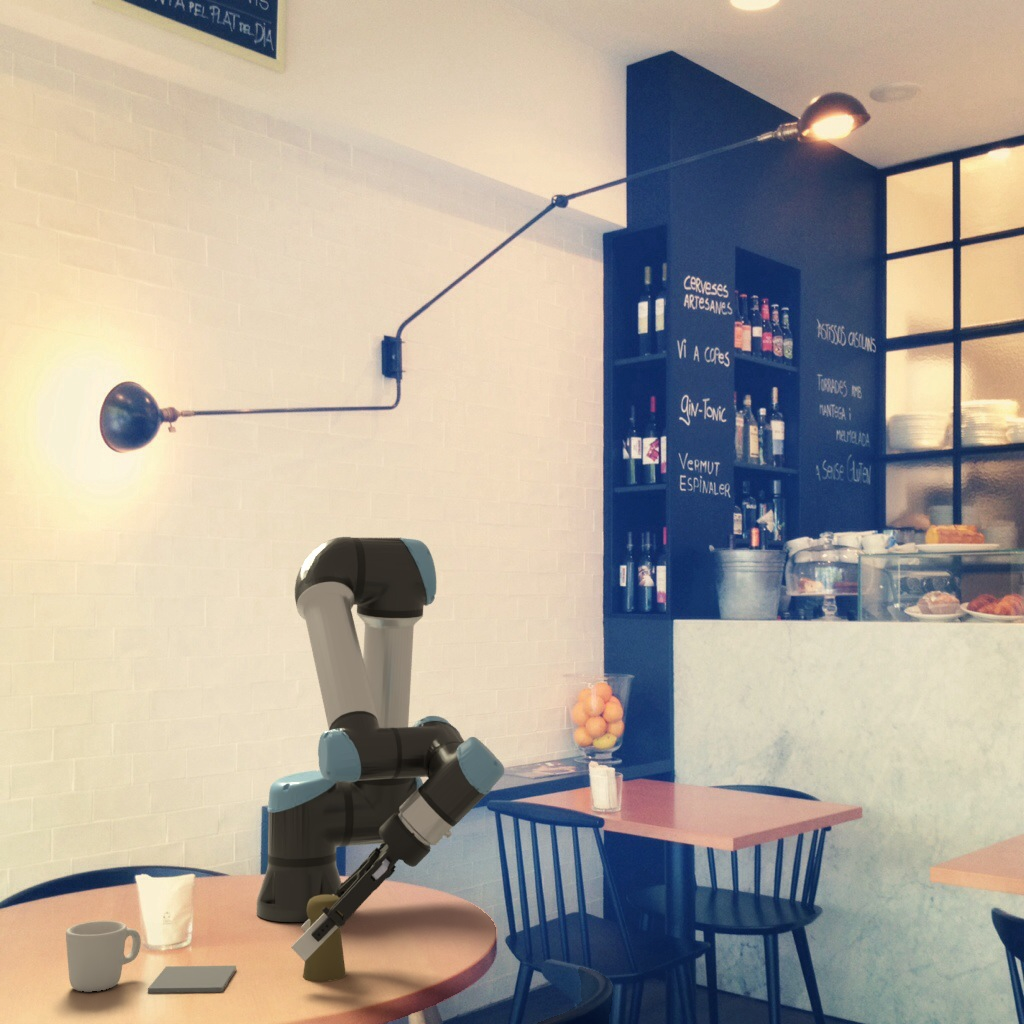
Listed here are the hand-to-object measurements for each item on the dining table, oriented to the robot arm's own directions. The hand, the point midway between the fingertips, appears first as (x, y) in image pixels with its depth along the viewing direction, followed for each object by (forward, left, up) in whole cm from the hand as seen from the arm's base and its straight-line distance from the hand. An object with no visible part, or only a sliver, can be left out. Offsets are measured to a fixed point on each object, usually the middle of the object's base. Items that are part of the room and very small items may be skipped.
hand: (303, 943), depth 171 cm
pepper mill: (0, +3, -5) cm, 6 cm away
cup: (+3, -27, -5) cm, 27 cm away
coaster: (+2, -15, -4) cm, 16 cm away
